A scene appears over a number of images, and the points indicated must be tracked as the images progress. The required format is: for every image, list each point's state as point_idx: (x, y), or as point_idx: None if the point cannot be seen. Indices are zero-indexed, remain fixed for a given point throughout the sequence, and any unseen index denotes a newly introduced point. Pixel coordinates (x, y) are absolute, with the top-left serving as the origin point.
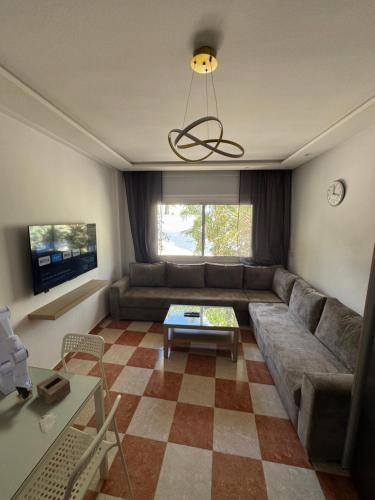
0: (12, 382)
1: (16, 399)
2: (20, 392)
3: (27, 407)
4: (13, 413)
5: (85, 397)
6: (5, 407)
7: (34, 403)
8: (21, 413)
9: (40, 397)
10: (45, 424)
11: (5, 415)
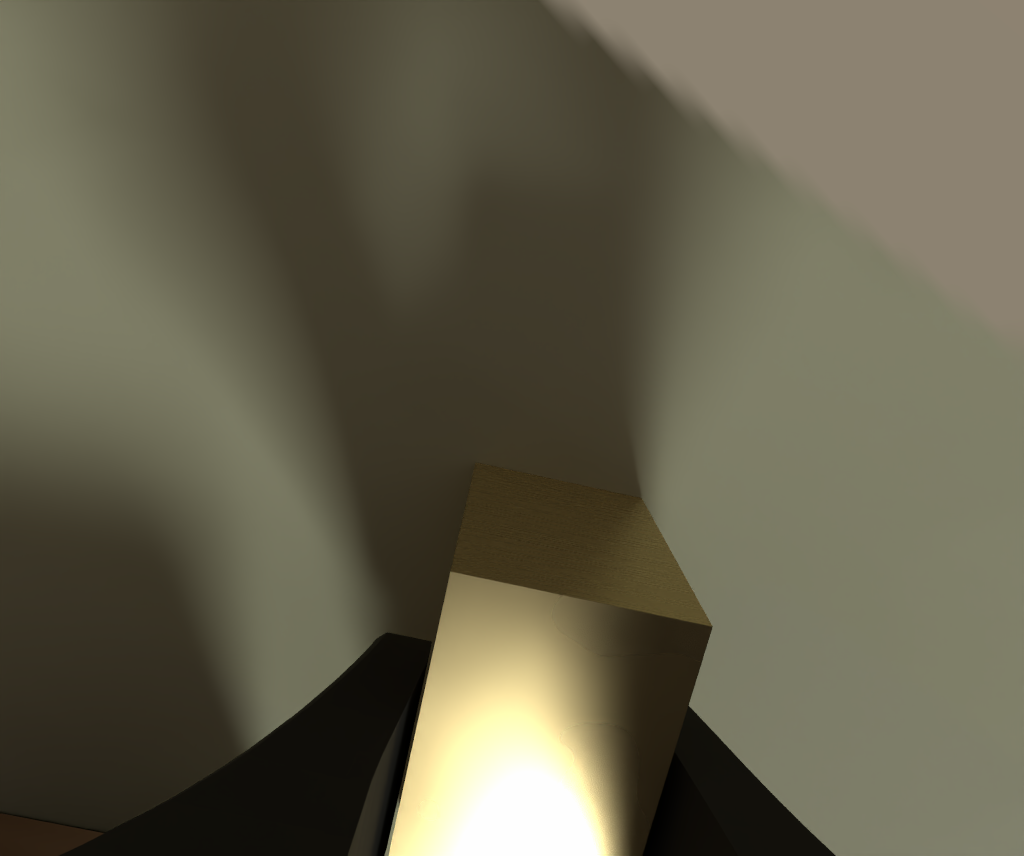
0: None
1: (657, 546)
2: (674, 834)
3: (131, 471)
4: (324, 156)
5: None
6: (837, 249)
7: (81, 640)
8: (72, 242)
9: None
10: None
11: (508, 3)
